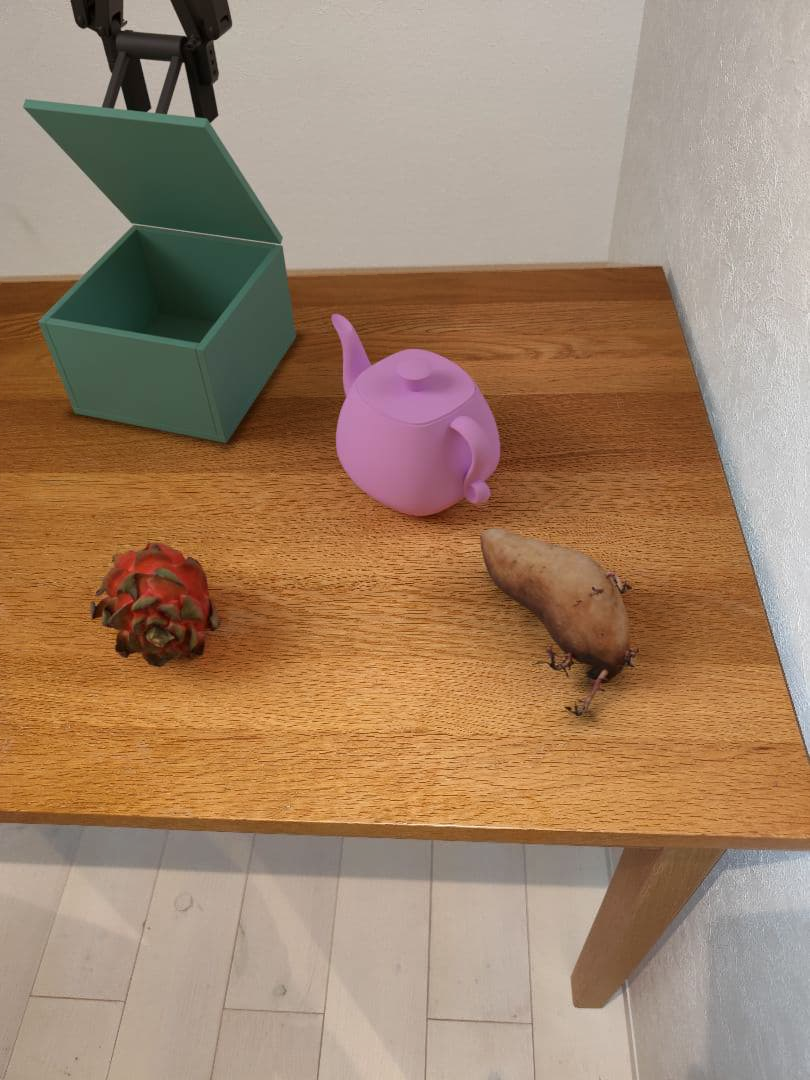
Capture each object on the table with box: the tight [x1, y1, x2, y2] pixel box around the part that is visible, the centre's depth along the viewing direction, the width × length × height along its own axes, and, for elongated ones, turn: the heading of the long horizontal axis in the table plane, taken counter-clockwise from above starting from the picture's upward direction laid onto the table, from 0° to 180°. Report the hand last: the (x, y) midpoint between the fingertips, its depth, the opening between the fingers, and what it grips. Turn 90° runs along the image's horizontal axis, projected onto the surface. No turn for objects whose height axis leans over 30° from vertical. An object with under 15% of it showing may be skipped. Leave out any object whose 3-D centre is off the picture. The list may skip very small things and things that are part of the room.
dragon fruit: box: [89, 542, 222, 668], centre depth 68 cm, size 8×8×12 cm
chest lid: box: [22, 30, 284, 245], centre depth 81 cm, size 18×17×9 cm
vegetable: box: [479, 527, 640, 717], centre depth 66 cm, size 16×11×10 cm
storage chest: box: [37, 224, 297, 444], centre depth 88 cm, size 18×17×11 cm
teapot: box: [331, 313, 501, 517], centre depth 77 cm, size 20×13×12 cm, turn 41°
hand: (174, 117), depth 80 cm, fingers closed on chest lid, 6 cm apart
